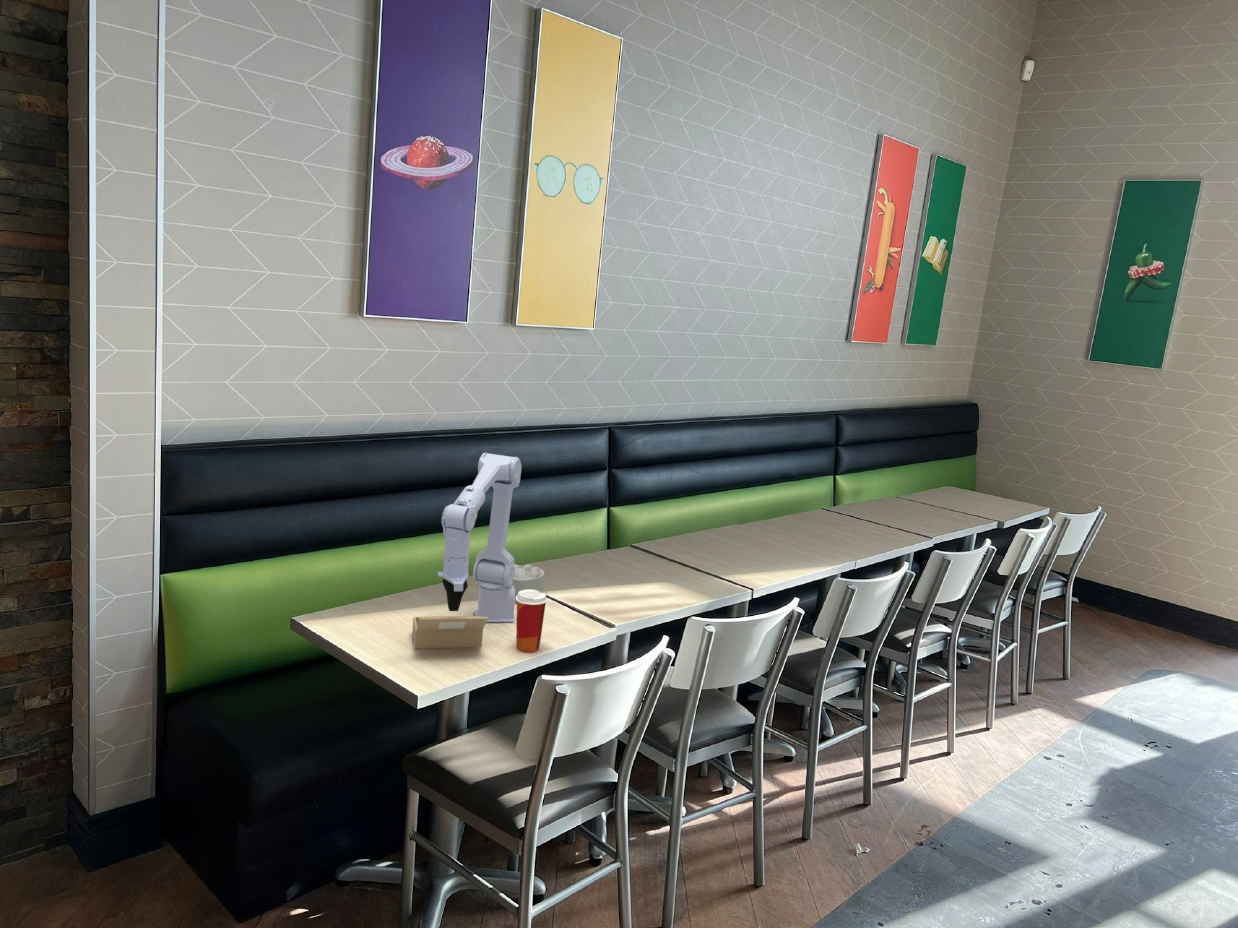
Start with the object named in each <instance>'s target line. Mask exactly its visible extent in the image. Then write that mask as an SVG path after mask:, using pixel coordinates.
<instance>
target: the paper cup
mask: <svg viewBox="0 0 1238 928" xmlns="http://www.w3.org/2000/svg"><path fill="white" fill-rule="evenodd" d="M516 600H517V604H516V625H515V626H516V627H515V628H516V630H515V631H516V634H515V639H516V641H515V642H516V643H515V645H516V646H515V647H516V649H517V651H519V652H522V653H525V654H526V653H529V654H530V653H535V652H536V653H537V652H538V651H539V649H540V645H541V639H542V632H543V625H544V619H545V618H544V616H545V610H546V603H547V602H548V598H547V594H546V593H545V592H544V591H543V592H540V591H538V590H522V591H519V592H518V595H517V596H516Z"/></svg>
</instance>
